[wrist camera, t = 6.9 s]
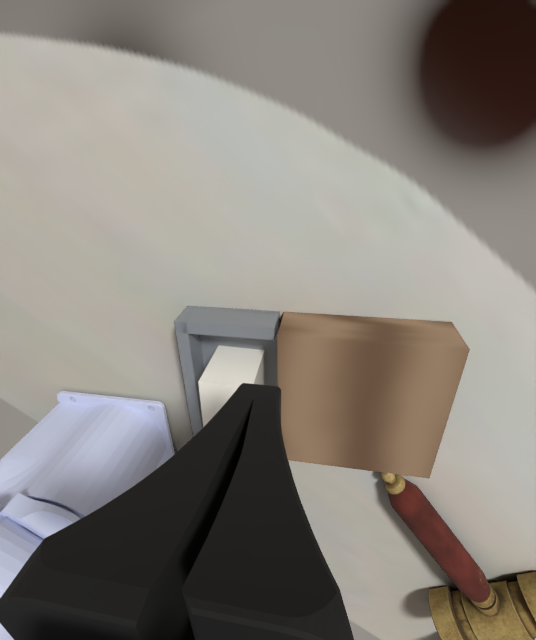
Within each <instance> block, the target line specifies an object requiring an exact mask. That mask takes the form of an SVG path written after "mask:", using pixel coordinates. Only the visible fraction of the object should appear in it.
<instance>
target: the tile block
mask: <svg viewBox="0 0 536 640" xmlns="http://www.w3.org/2000/svg"><path fill="white" fill-rule="evenodd" d="M242 383H249V384H260V385H264V350H259V349H249V348H239V347H229V346H219V345H218V347H217V349H216V351H215V353H214V354H213V356H212V358H211V360H210V362H209V363H208V365H207V367H206V369H205V371H204V372H203V374H202V376H201V378H200V380H199V381H198V384H199V393H200V402H201V411H202V420H203V427H204V426H205V425H206V424H207V423H208V422H209V421H210V420H211V419H212V418H213V416H214V415H215V414H216V413H217V412H218V411H219V410H220V409H221V408H222V407H223V405H224V404H225V403H226V402H227V401H228V400H229V398H230V397H231V396H232V395H233V393H234V392H235V391H236V390H237V388H238V387H239V386H240V385H241V384H242Z"/></svg>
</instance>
